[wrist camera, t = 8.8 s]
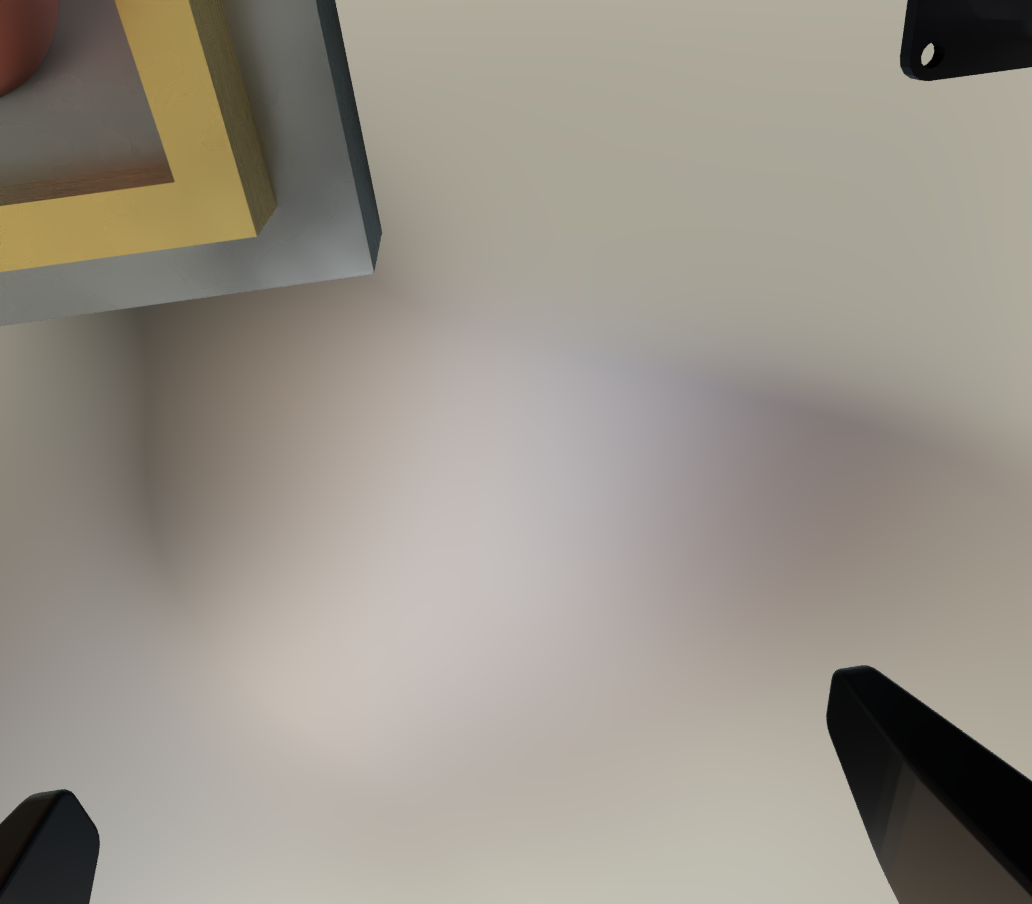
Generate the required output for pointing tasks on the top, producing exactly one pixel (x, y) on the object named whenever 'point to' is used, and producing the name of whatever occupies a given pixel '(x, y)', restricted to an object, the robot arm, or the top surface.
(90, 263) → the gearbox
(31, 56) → the oil can
